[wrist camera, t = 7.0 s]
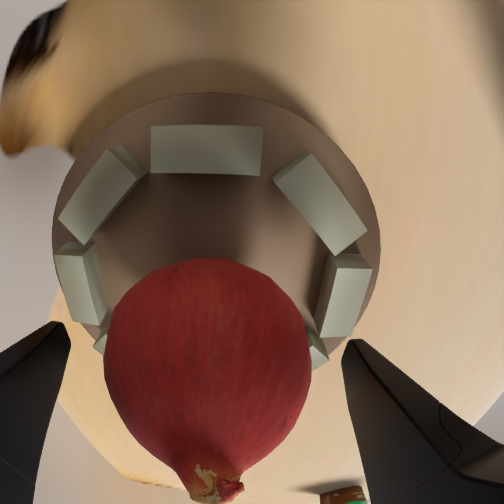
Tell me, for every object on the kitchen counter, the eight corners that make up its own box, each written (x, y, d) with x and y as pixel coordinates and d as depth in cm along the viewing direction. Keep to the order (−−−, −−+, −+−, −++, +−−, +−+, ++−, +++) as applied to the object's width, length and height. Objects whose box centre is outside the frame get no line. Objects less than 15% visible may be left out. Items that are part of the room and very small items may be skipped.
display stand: (385, 119, 10) (428, 124, 7) (327, 364, 16) (340, 405, 13) (62, 110, 9) (17, 114, 6) (104, 353, 15) (87, 391, 12)
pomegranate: (271, 335, 13) (308, 507, 6) (144, 333, 12) (120, 508, 5) (294, 217, 10) (411, 445, 3) (126, 210, 9) (13, 441, 2)
